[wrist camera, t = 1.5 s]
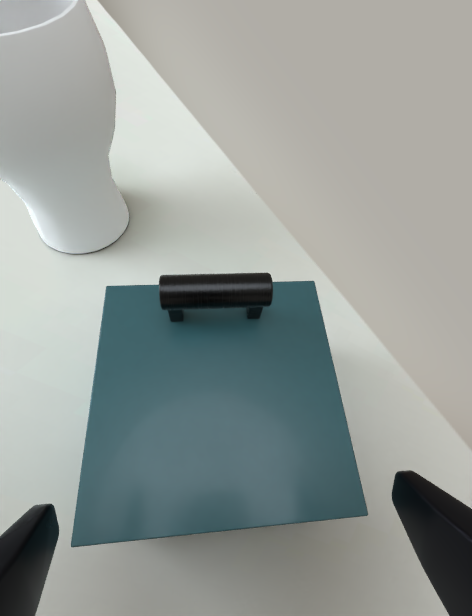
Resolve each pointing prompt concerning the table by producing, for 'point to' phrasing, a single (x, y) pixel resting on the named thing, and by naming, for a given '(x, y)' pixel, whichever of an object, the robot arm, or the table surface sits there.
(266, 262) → the table surface
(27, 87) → the white vase
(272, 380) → the box lid
